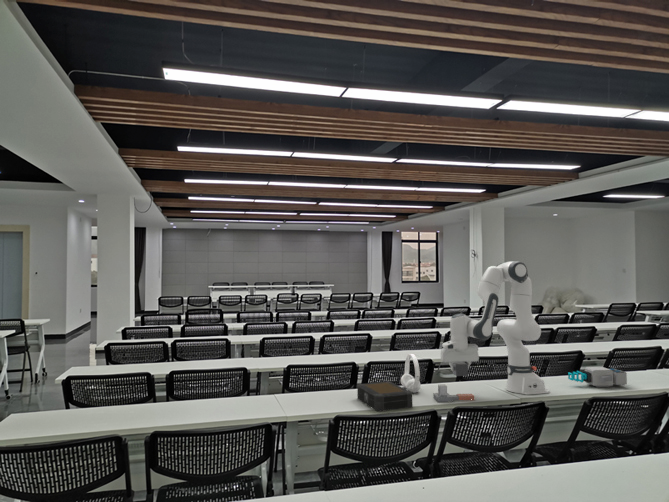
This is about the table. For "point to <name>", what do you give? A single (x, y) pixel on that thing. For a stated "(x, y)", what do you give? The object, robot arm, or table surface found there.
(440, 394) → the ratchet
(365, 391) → the cash box
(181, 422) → the table surface
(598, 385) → the toy
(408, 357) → the headphones
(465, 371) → the dark grey cube
